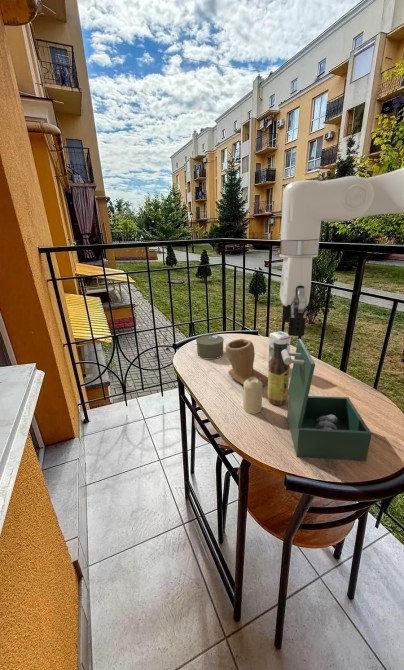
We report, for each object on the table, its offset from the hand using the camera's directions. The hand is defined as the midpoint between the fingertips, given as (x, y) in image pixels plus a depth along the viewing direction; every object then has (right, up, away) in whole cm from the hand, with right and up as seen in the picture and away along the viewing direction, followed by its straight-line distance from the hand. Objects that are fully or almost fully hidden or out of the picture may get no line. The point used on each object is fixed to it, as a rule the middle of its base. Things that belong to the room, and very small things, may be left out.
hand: (292, 327), depth 63 cm
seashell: (+12, -28, +9) cm, 31 cm away
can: (-17, -10, +62) cm, 65 cm away
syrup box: (+9, -15, +46) cm, 49 cm away
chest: (+11, -28, +9) cm, 32 cm away
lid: (+4, -13, +4) cm, 14 cm away
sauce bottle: (+3, -23, +26) cm, 35 cm away
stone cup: (-5, -18, +38) cm, 43 cm away
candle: (-5, -24, +22) cm, 33 cm away
